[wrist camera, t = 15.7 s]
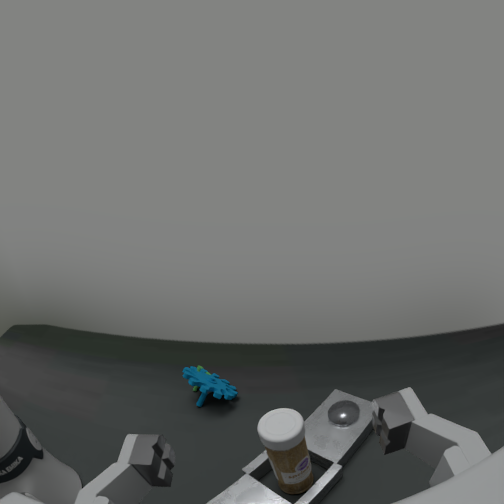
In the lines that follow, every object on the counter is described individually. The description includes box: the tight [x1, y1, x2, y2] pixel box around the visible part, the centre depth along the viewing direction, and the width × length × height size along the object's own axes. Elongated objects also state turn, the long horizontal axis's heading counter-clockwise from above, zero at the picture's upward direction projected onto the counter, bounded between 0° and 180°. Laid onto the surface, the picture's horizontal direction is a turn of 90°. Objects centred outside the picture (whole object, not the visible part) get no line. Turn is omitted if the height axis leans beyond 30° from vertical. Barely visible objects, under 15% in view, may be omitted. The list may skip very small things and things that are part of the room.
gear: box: [183, 366, 238, 407], centre depth 48 cm, size 11×6×10 cm
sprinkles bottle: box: [258, 408, 314, 494], centre depth 28 cm, size 5×5×14 cm
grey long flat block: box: [207, 389, 374, 504], centre depth 29 cm, size 29×10×4 cm, turn 133°
